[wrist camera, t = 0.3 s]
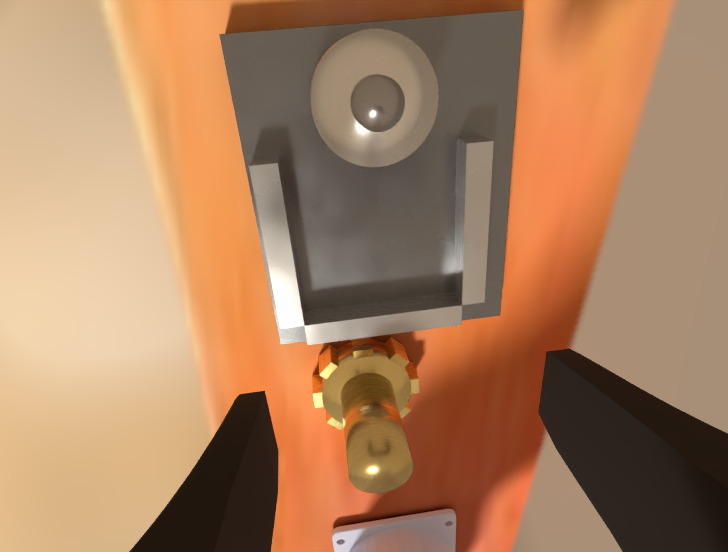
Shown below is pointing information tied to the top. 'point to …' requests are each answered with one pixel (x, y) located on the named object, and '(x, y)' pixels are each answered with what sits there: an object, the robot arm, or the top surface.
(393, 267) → the carrier
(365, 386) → the planet gear
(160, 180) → the top surface
